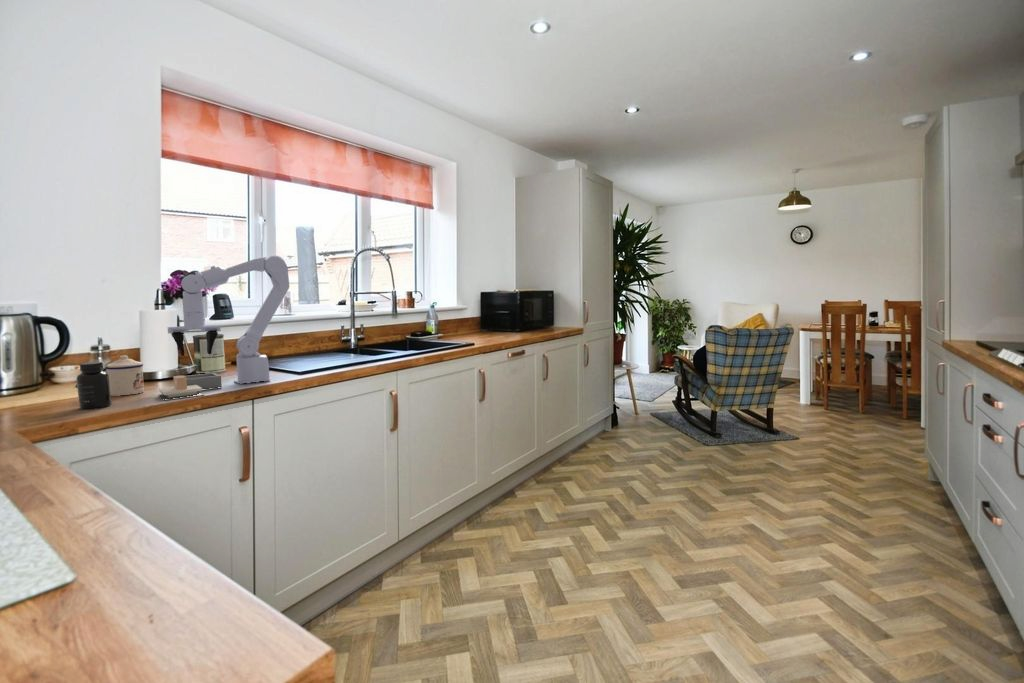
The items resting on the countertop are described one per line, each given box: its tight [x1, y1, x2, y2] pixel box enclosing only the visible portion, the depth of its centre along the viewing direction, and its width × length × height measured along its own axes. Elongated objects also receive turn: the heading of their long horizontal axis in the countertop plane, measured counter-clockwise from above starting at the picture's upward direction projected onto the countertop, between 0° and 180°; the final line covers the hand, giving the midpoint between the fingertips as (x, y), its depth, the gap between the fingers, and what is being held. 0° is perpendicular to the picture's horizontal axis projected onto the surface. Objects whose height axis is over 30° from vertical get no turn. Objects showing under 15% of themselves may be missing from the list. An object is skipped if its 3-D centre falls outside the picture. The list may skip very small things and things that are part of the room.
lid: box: [158, 374, 203, 397], centre depth 155 cm, size 10×8×5 cm
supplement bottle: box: [75, 361, 112, 410], centre depth 141 cm, size 7×7×12 cm
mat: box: [158, 391, 202, 401], centre depth 155 cm, size 10×9×1 cm
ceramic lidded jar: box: [105, 354, 145, 397], centre depth 160 cm, size 12×9×12 cm
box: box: [184, 373, 223, 389], centre depth 166 cm, size 10×8×4 cm
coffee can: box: [192, 333, 226, 374], centre depth 201 cm, size 10×10×14 cm
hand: (196, 354), depth 170 cm, fingers open, 7 cm apart
